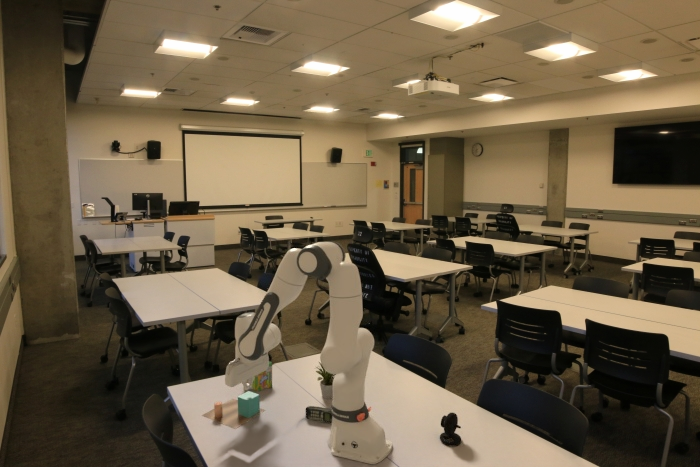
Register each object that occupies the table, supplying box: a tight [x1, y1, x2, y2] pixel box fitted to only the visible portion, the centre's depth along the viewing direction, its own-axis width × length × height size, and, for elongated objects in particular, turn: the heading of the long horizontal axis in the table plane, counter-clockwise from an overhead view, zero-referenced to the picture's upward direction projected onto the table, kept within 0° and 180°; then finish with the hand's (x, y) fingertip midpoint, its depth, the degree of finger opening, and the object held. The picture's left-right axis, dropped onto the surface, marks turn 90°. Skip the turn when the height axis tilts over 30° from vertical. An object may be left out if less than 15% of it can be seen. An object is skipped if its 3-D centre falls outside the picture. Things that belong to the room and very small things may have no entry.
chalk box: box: [246, 360, 273, 392], centre depth 197 cm, size 9×9×15 cm
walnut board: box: [201, 398, 266, 430], centre depth 174 cm, size 18×16×2 cm
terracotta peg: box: [213, 401, 223, 418], centre depth 171 cm, size 3×3×5 cm
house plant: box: [314, 361, 336, 400], centre depth 189 cm, size 14×14×16 cm
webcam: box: [439, 412, 462, 447], centre depth 157 cm, size 8×8×10 cm
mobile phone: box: [305, 405, 332, 424], centre depth 171 cm, size 5×3×15 cm
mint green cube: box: [237, 390, 261, 418], centre depth 173 cm, size 6×6×7 cm
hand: (247, 388), depth 173 cm, fingers closed
